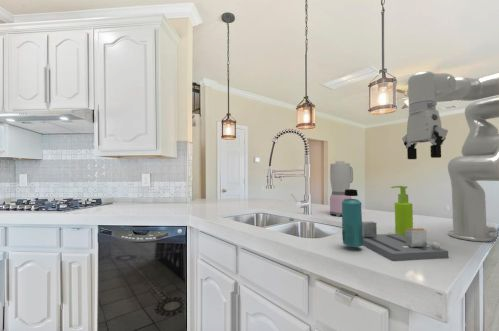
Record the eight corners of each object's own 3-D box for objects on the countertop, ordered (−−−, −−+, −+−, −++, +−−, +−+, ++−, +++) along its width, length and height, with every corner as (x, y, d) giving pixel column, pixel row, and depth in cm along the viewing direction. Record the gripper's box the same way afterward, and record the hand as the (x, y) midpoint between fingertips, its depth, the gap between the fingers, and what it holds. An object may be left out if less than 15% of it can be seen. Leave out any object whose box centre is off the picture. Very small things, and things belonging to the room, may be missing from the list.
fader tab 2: (420, 243, 76) (419, 227, 76) (426, 246, 74) (426, 229, 74) (405, 244, 75) (405, 228, 76) (412, 246, 73) (411, 230, 73)
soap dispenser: (393, 233, 98) (392, 185, 98) (413, 236, 93) (412, 185, 94) (391, 236, 93) (390, 186, 94) (412, 239, 89) (410, 186, 89)
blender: (339, 217, 132) (338, 160, 133) (325, 214, 143) (324, 161, 144) (361, 215, 137) (360, 161, 138) (346, 212, 148) (345, 161, 149)
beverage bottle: (367, 250, 77) (366, 189, 78) (351, 252, 75) (349, 190, 76) (353, 244, 83) (352, 188, 84) (337, 246, 82) (336, 188, 82)
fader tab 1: (372, 234, 87) (372, 221, 87) (376, 236, 84) (376, 222, 85) (359, 235, 86) (359, 221, 87) (363, 237, 84) (363, 223, 84)
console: (398, 238, 90) (398, 228, 90) (448, 257, 70) (448, 244, 70) (354, 240, 88) (354, 230, 88) (392, 260, 68) (392, 246, 68)
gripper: (456, 102, 73) (457, 156, 73) (412, 115, 91) (413, 159, 90) (434, 101, 73) (436, 156, 72) (393, 115, 90) (395, 159, 89)
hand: (423, 158), depth 81 cm, fingers open, 9 cm apart
